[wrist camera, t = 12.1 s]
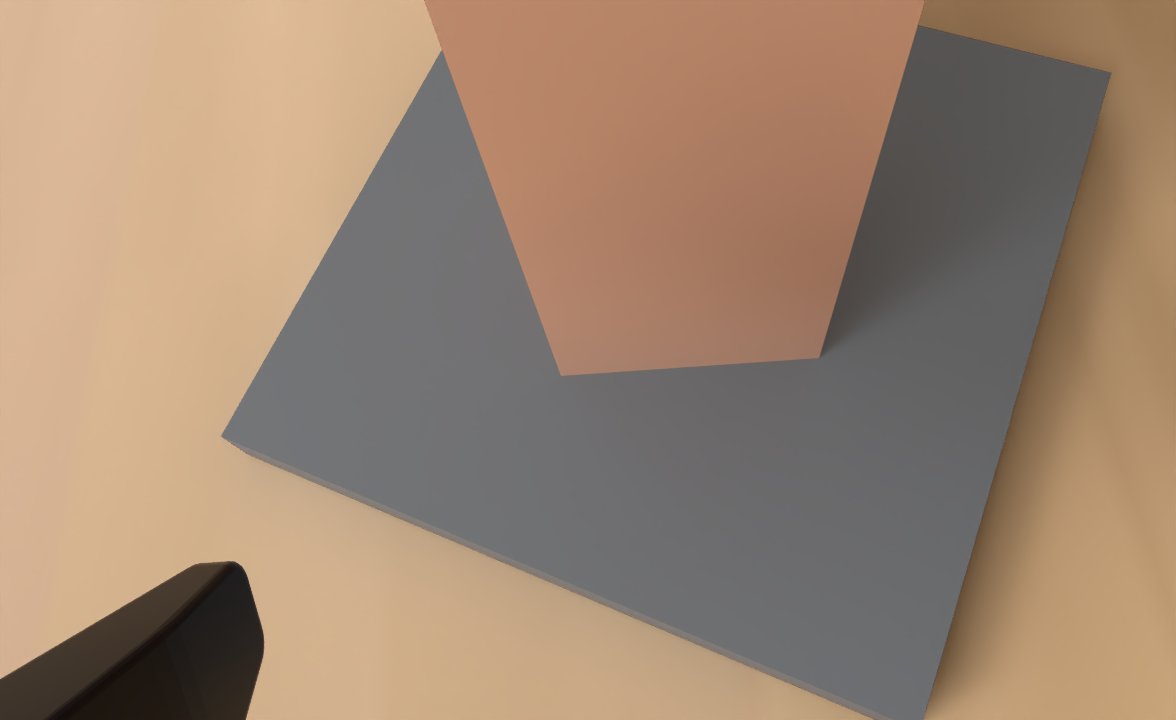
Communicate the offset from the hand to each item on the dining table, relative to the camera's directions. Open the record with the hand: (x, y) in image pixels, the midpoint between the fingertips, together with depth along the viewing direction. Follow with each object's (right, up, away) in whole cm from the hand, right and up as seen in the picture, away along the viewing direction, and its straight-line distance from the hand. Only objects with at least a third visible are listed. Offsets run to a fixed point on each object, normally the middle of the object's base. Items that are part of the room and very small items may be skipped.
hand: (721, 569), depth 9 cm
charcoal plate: (+1, +4, +12) cm, 13 cm away
